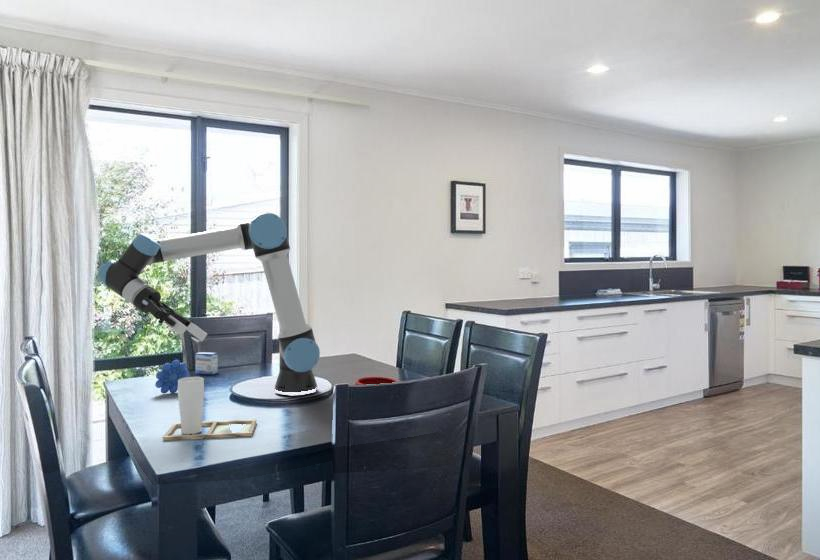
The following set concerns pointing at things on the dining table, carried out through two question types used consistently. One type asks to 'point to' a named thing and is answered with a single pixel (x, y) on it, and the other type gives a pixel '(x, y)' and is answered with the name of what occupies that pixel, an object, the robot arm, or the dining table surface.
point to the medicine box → (206, 363)
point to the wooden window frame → (215, 430)
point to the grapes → (171, 376)
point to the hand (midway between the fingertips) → (194, 334)
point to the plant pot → (374, 380)
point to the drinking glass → (191, 404)
